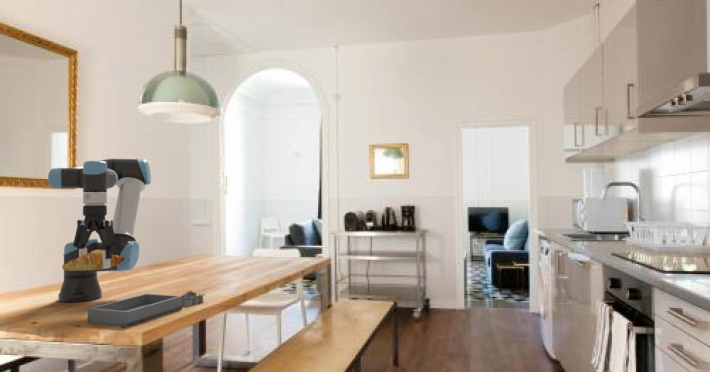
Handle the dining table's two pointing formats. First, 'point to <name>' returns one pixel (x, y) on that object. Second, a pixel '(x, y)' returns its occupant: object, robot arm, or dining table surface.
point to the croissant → (91, 262)
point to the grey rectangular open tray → (134, 309)
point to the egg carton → (191, 298)
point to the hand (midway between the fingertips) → (94, 267)
